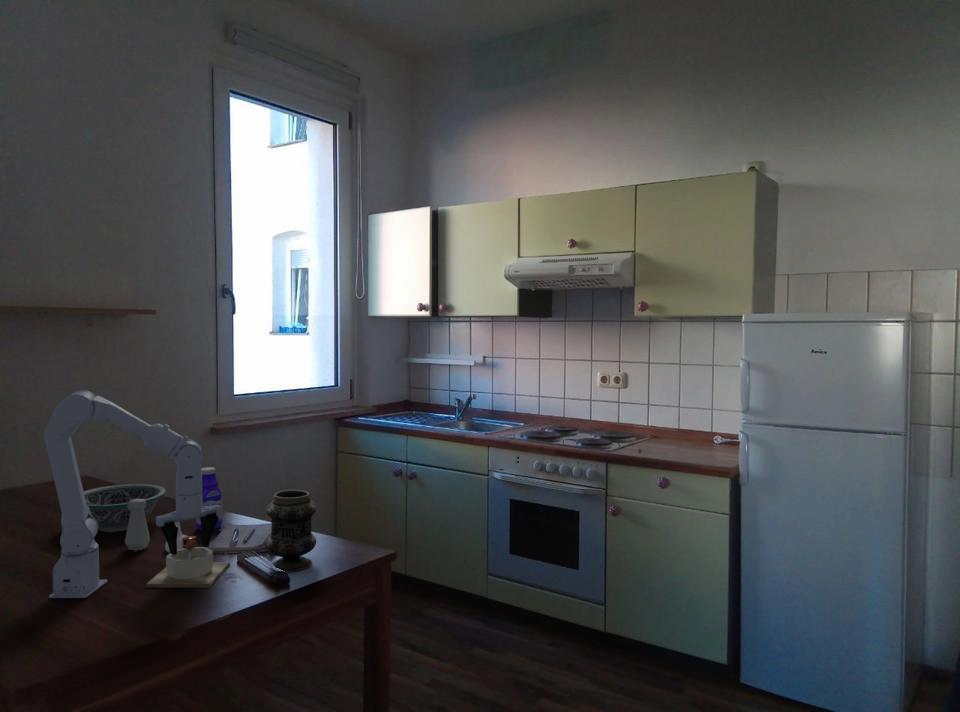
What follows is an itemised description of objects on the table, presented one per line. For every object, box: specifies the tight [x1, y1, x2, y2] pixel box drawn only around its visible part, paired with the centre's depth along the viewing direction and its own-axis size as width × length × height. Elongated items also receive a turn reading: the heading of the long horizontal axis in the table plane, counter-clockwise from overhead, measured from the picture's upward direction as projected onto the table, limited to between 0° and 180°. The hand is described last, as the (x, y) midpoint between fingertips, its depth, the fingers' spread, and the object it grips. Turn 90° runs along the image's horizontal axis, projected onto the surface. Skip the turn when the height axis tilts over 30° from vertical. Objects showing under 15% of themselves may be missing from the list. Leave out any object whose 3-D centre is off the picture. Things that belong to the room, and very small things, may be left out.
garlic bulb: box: [164, 522, 188, 554], centre depth 181 cm, size 6×6×8 cm
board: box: [146, 561, 231, 588], centre depth 163 cm, size 14×14×1 cm
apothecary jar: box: [265, 489, 317, 573], centre depth 170 cm, size 12×12×18 cm
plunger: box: [182, 535, 198, 559], centre depth 163 cm, size 6×6×8 cm
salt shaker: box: [124, 499, 151, 552], centre depth 181 cm, size 6×6×13 cm
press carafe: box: [165, 546, 214, 580], centre depth 163 cm, size 9×9×4 cm
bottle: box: [195, 466, 223, 531], centre depth 199 cm, size 7×6×17 cm
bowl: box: [83, 483, 167, 533], centre depth 200 cm, size 25×25×10 cm
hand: (189, 549), depth 163 cm, fingers open, 7 cm apart
